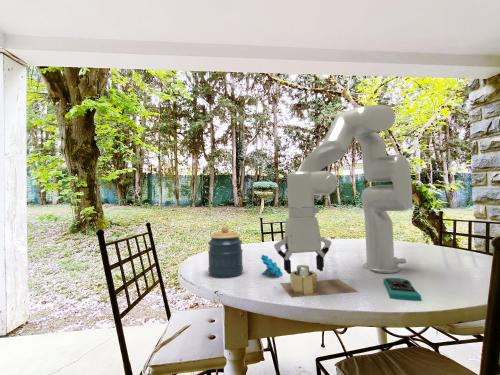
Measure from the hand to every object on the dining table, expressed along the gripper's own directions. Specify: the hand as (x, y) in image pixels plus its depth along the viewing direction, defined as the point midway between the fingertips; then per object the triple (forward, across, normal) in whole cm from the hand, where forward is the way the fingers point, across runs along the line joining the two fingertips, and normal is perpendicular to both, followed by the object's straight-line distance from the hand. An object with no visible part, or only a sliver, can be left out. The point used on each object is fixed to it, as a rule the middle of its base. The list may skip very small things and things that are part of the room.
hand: (304, 271), depth 83 cm
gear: (+6, +6, -19) cm, 21 cm away
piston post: (+6, +1, 0) cm, 6 cm away
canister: (+6, +22, -27) cm, 35 cm away
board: (+6, -4, -2) cm, 8 cm away
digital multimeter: (+7, -26, +7) cm, 28 cm away
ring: (+6, 0, 0) cm, 6 cm away
